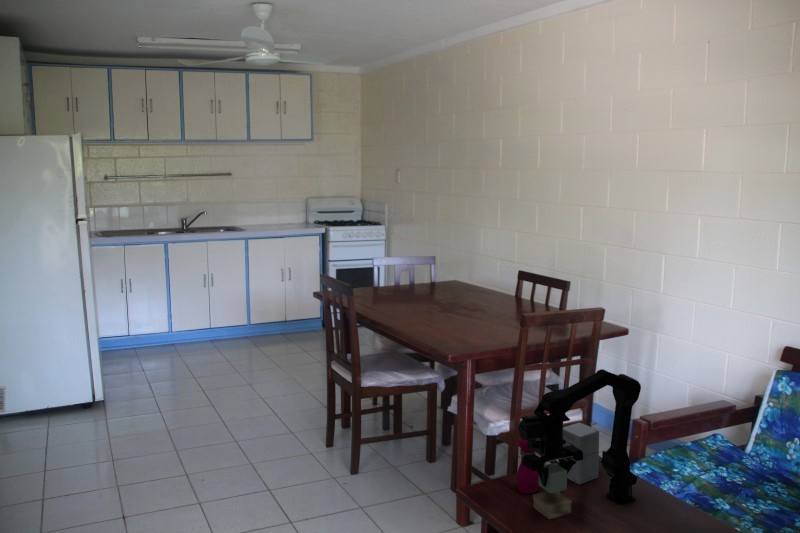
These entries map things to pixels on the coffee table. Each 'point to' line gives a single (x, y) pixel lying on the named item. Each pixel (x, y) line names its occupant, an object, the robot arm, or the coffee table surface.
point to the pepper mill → (526, 471)
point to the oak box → (552, 504)
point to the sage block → (555, 479)
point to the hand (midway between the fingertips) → (552, 484)
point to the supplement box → (589, 445)
